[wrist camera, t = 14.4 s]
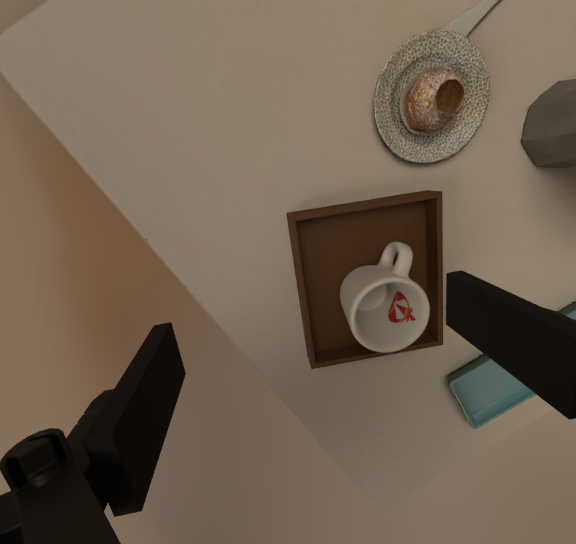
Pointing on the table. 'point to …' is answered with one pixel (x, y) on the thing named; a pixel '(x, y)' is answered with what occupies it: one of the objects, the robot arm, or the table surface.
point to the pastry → (431, 96)
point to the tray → (360, 252)
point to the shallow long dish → (490, 387)
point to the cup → (385, 302)
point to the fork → (470, 17)
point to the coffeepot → (552, 127)
